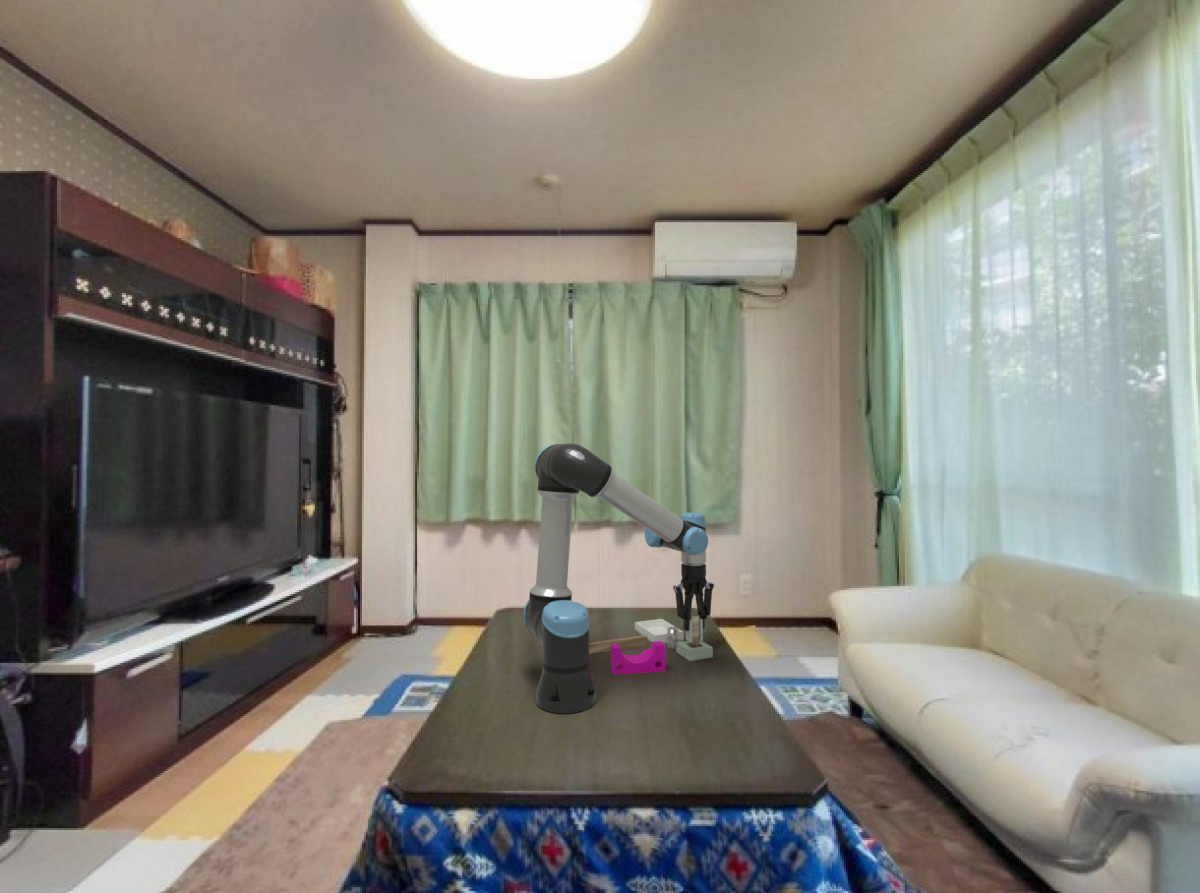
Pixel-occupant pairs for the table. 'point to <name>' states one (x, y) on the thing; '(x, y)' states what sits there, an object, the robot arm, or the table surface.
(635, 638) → the brown wooden bar
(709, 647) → the socket
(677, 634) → the cylinder
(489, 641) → the table surface
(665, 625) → the tray
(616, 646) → the toy block
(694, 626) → the dowel
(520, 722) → the table surface
